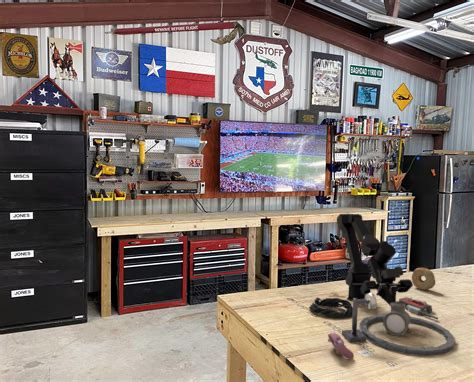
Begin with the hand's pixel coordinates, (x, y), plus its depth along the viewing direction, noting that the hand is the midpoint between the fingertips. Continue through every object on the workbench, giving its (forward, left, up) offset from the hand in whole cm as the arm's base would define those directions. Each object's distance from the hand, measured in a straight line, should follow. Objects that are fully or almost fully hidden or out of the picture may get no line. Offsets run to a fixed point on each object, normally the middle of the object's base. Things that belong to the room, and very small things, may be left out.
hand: (394, 307), depth 151 cm
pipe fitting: (+2, -3, -7) cm, 8 cm away
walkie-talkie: (+6, +22, -7) cm, 24 cm away
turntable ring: (+5, -6, -7) cm, 10 cm away
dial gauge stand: (-8, -17, -7) cm, 20 cm away
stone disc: (+2, +54, -7) cm, 54 cm away
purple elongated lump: (-10, -31, -7) cm, 34 cm away
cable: (-24, +1, -7) cm, 25 cm away
